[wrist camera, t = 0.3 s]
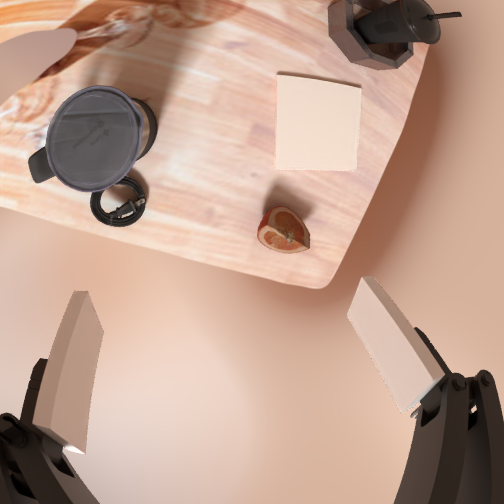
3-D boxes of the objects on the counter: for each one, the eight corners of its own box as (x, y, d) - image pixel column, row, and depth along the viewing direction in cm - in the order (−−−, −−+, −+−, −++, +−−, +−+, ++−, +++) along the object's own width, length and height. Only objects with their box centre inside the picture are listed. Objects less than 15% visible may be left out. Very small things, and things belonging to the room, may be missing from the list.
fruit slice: (308, 220, 43) (322, 233, 39) (284, 253, 45) (295, 268, 41) (268, 194, 40) (280, 205, 35) (243, 231, 41) (251, 245, 37)
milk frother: (136, 83, 27) (108, 63, 15) (197, 175, 36) (207, 210, 23) (57, 149, 28) (0, 173, 15) (118, 231, 36) (93, 291, 24)
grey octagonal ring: (326, -11, 24) (342, -21, 20) (391, 14, 27) (409, 9, 23) (328, 57, 31) (346, 52, 27) (394, 75, 34) (414, 75, 30)
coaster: (276, 75, 31) (277, 74, 31) (359, 88, 34) (361, 88, 34) (273, 169, 38) (275, 170, 37) (353, 170, 41) (355, 171, 40)
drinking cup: (379, 58, 32) (477, 55, 15) (341, 40, 30) (441, 19, 13) (382, 24, 29) (474, 11, 12) (346, 5, 26) (437, -26, 9)
